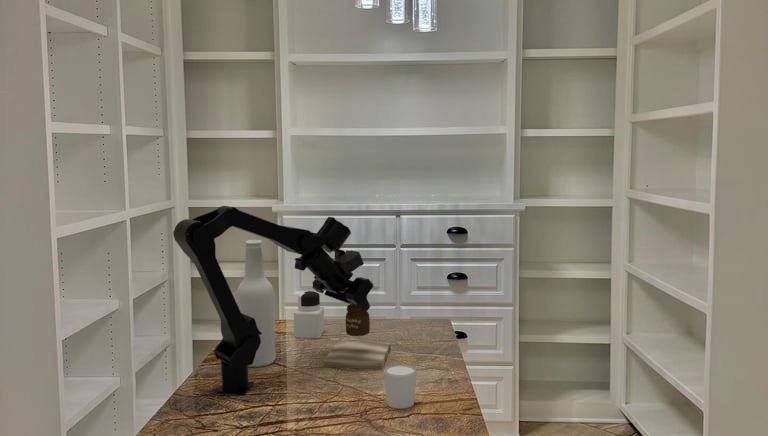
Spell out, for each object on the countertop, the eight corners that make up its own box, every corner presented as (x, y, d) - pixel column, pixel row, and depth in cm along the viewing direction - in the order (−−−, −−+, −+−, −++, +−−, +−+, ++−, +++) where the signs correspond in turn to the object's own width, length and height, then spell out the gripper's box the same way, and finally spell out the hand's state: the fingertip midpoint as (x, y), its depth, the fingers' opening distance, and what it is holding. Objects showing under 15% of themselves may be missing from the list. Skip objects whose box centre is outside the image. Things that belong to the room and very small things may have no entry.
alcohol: (239, 369, 159) (234, 244, 156) (239, 357, 168) (235, 238, 164) (276, 366, 161) (272, 242, 157) (275, 355, 169) (271, 237, 166)
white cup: (397, 394, 142) (397, 362, 142) (423, 402, 138) (423, 369, 137) (376, 404, 137) (376, 371, 136) (403, 412, 133) (403, 378, 132)
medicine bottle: (324, 331, 190) (323, 289, 189) (319, 338, 183) (318, 295, 182) (299, 330, 191) (298, 289, 189) (294, 338, 184) (292, 295, 182)
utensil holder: (357, 329, 170) (355, 282, 169) (375, 333, 166) (374, 285, 165) (340, 334, 165) (339, 286, 164) (359, 338, 161) (358, 288, 160)
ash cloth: (381, 369, 158) (381, 363, 158) (323, 367, 160) (323, 361, 160) (390, 348, 174) (390, 342, 174) (337, 346, 176) (337, 341, 175)
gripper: (366, 245, 154) (403, 286, 162) (322, 236, 168) (358, 274, 176) (338, 283, 150) (377, 323, 158) (295, 271, 164) (333, 308, 172)
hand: (361, 305), depth 166 cm, fingers closed on utensil holder, 6 cm apart
